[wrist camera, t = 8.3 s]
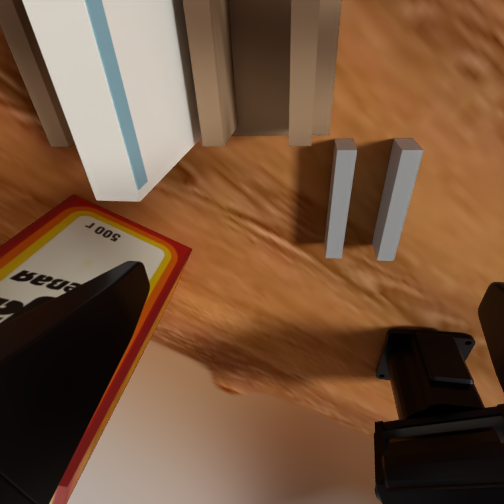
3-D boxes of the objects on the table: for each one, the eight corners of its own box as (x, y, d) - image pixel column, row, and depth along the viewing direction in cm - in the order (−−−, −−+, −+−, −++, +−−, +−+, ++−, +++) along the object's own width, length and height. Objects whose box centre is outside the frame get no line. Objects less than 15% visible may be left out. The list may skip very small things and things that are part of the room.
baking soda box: (66, 255, 27) (-157, 467, 14) (73, 194, 23) (-227, 409, 10) (170, 300, 28) (52, 530, 15) (192, 249, 24) (60, 499, 11)
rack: (328, 129, 18) (333, 157, 14) (87, 132, 20) (37, 156, 16) (356, -188, 11) (378, -286, 8) (-4, -131, 14) (-118, -187, 10)
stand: (387, 243, 21) (393, 261, 20) (324, 240, 22) (325, 257, 20) (413, 138, 17) (423, 150, 16) (334, 138, 18) (337, 150, 16)
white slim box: (210, 129, 18) (141, 201, 10) (181, 129, 18) (94, 200, 11) (177, -147, 12) (-29, -410, 5) (135, -140, 12) (-122, -380, 5)
